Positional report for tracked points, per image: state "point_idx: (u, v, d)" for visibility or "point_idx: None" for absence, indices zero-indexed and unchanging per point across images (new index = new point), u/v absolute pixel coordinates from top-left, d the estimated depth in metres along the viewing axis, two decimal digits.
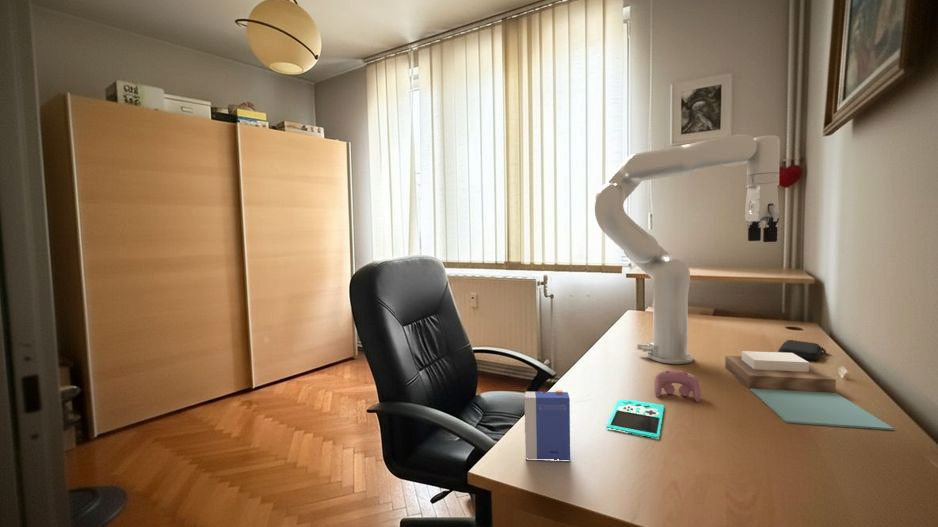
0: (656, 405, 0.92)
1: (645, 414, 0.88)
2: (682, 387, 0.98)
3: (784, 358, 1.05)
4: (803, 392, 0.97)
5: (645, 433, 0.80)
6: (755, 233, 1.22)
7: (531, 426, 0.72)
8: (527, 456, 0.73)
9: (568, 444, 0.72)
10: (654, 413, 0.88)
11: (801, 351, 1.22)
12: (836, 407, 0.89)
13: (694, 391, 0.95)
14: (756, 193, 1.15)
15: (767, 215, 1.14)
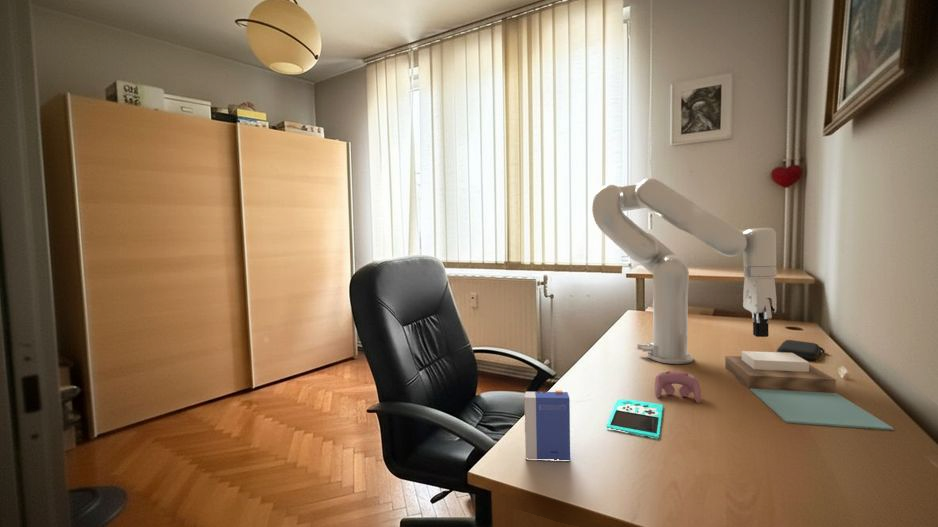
0: (655, 405, 0.92)
1: (644, 414, 0.88)
2: (682, 388, 0.98)
3: (784, 358, 1.05)
4: (803, 392, 0.97)
5: (645, 433, 0.80)
6: None
7: (531, 426, 0.72)
8: (527, 456, 0.73)
9: (568, 444, 0.72)
10: (653, 413, 0.89)
11: (799, 351, 1.22)
12: (836, 407, 0.89)
13: (694, 392, 0.95)
14: (753, 286, 1.13)
15: None
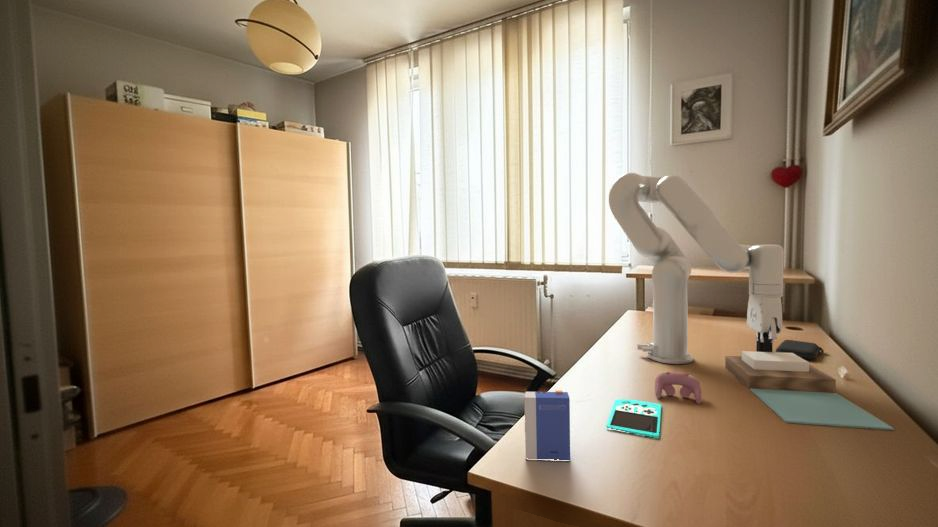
0: (653, 404, 0.93)
1: (643, 413, 0.88)
2: (683, 388, 0.97)
3: (784, 358, 1.05)
4: (803, 392, 0.97)
5: (645, 433, 0.80)
6: None
7: (531, 426, 0.72)
8: (527, 456, 0.73)
9: (568, 444, 0.72)
10: (652, 412, 0.89)
11: (798, 351, 1.22)
12: (836, 407, 0.89)
13: (695, 393, 0.95)
14: (759, 304, 1.10)
15: None
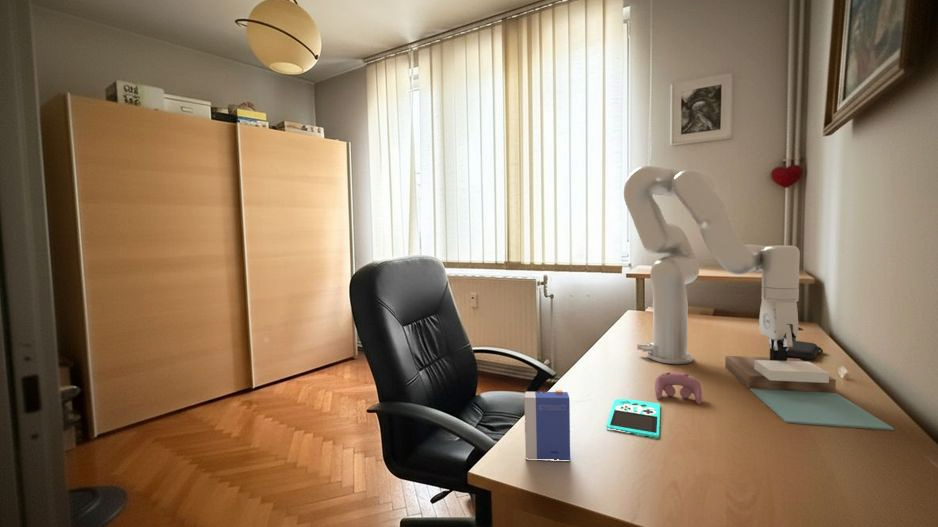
0: (652, 404, 0.93)
1: (643, 413, 0.88)
2: (683, 389, 0.97)
3: (801, 368, 0.98)
4: (803, 392, 0.97)
5: (645, 432, 0.80)
6: None
7: (531, 426, 0.72)
8: (527, 456, 0.73)
9: (568, 444, 0.72)
10: (651, 412, 0.89)
11: (797, 351, 1.22)
12: (836, 407, 0.89)
13: (695, 393, 0.94)
14: (773, 309, 1.02)
15: None
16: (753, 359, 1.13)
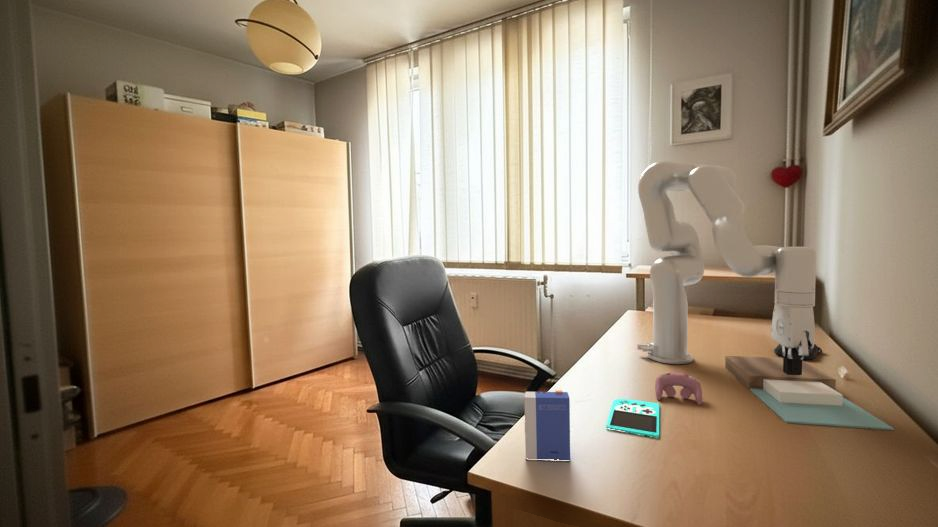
0: (651, 404, 0.93)
1: (642, 413, 0.89)
2: (683, 389, 0.97)
3: (813, 389, 0.93)
4: None
5: (645, 432, 0.80)
6: None
7: (531, 426, 0.72)
8: (527, 456, 0.73)
9: (568, 444, 0.72)
10: (651, 412, 0.89)
11: None
12: (836, 407, 0.89)
13: (696, 394, 0.94)
14: (787, 315, 0.95)
15: None
16: (753, 359, 1.13)
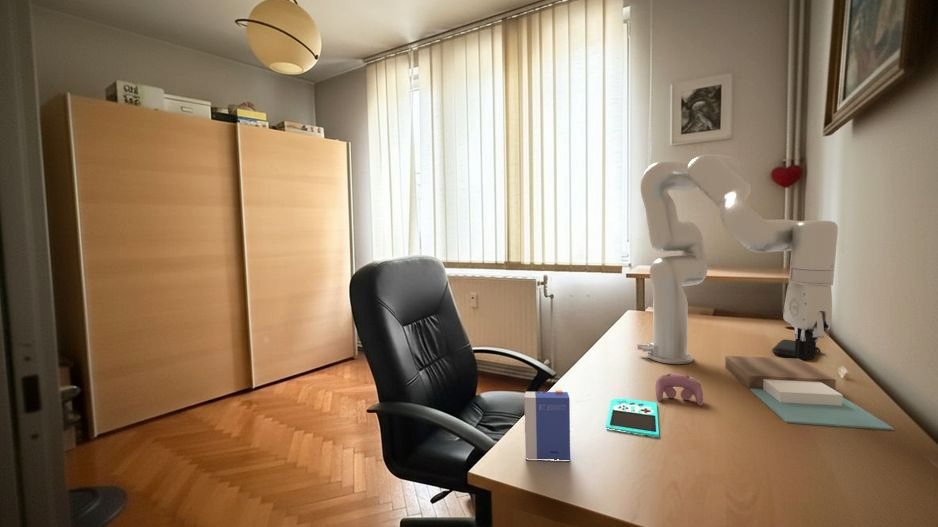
0: (649, 403, 0.93)
1: (641, 412, 0.89)
2: (684, 391, 0.96)
3: (813, 389, 0.93)
4: None
5: (645, 432, 0.80)
6: None
7: (531, 426, 0.72)
8: (527, 456, 0.73)
9: (568, 444, 0.72)
10: (649, 411, 0.89)
11: (794, 350, 1.23)
12: (836, 407, 0.89)
13: (696, 395, 0.93)
14: (802, 294, 0.88)
15: None
16: (753, 359, 1.13)
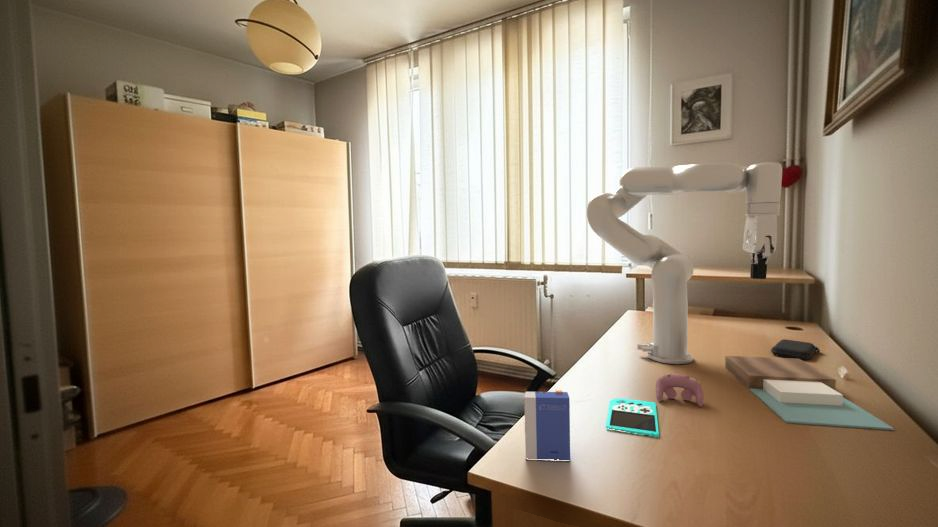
0: (648, 403, 0.94)
1: (640, 412, 0.89)
2: (684, 391, 0.96)
3: (813, 389, 0.93)
4: None
5: (645, 432, 0.81)
6: None
7: (531, 426, 0.72)
8: (527, 456, 0.73)
9: (568, 444, 0.72)
10: (648, 411, 0.90)
11: (793, 350, 1.23)
12: (836, 407, 0.89)
13: (697, 395, 0.93)
14: (754, 223, 1.08)
15: None
16: (753, 359, 1.13)
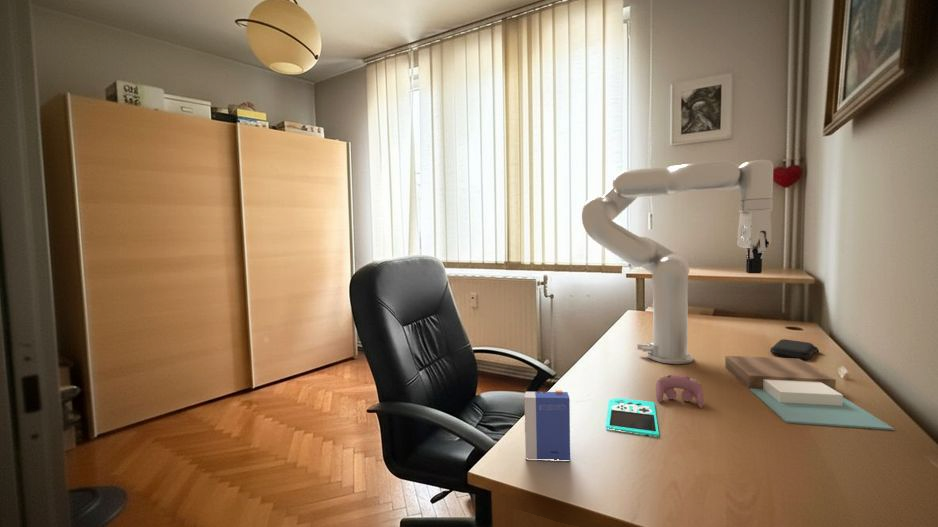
0: (647, 402, 0.94)
1: (639, 412, 0.89)
2: (684, 392, 0.95)
3: (813, 389, 0.93)
4: None
5: (645, 431, 0.81)
6: None
7: (531, 426, 0.72)
8: (527, 456, 0.73)
9: (568, 444, 0.72)
10: (647, 410, 0.90)
11: (792, 350, 1.23)
12: (836, 407, 0.89)
13: (697, 396, 0.93)
14: (748, 219, 1.11)
15: None
16: (753, 359, 1.13)
